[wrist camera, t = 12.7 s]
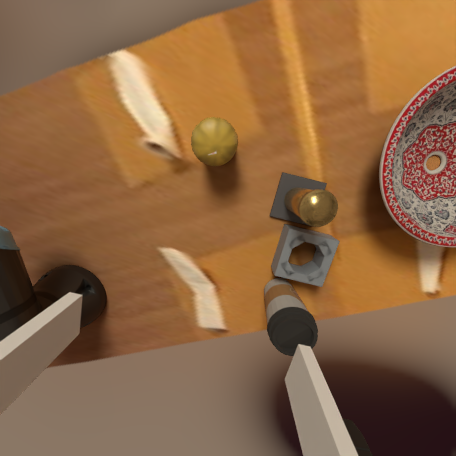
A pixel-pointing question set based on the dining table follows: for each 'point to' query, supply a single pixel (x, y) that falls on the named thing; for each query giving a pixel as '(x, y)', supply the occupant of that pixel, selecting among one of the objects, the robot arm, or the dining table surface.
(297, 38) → the dining table surface
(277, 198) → the rubber mat
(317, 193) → the gold round-topped cylinder
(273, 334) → the coffee cup
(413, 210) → the ceramic bowl
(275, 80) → the dining table surface
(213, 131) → the hamburger
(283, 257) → the housing
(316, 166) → the dining table surface
